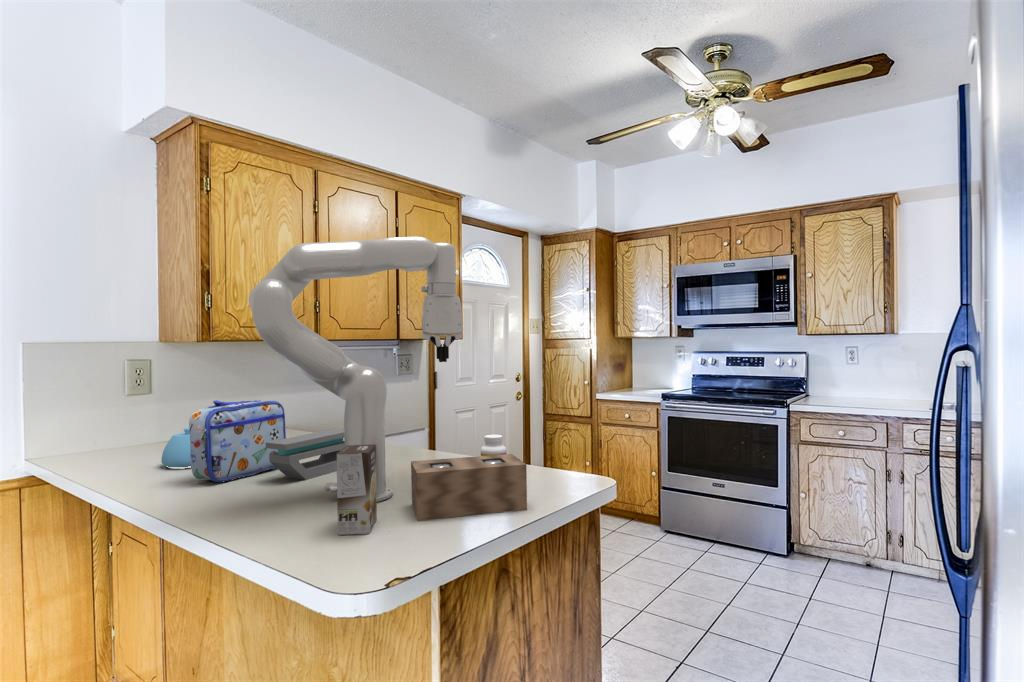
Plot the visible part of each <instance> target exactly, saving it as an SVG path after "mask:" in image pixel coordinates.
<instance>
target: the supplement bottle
mask: <svg viewBox="0 0 1024 682" xmlns="http://www.w3.org/2000/svg"><path fill="white" fill-rule="evenodd" d="M483 440H484V443H485V444H484V445H482V447H481V448H480V456H490V455H503V454H507V447H506V446H505V445H504V444H503V443H502V442H503V435H502V434H487V435H484V439H483Z"/></svg>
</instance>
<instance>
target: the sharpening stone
mask: <svg viewBox="0 0 1024 682" xmlns="http://www.w3.org/2000/svg"><path fill="white" fill-rule="evenodd" d="M266 448H269V449H278V452H276V453H271V454H269V460H270V463H271V464H273V465H274V466H275V468H276V469H277V470H279V472H281V473H282V474H283V475H284V477H286V478H290V477H291V478H292V479H298V480H304V481H305V480H306V481H308V480H311V479H314V478H319V477H321V476H325V475H328V474H332V473H335V472H336V473H337V453H338V452H339V451H340V450H342V449H343V448H344V428H343V429H342V428H332V429H331V428H330V429H327V430H322V431H316V432H311V433H306V434H302V435H301V434H300V435H296V436H290V437H286V439H280V440H275V441H270V442H266ZM318 456H319V457H318ZM314 457H318V458H317V459H313V460H309V461H306V462H301V463H300V461H301V460H306V459H310V458H314Z"/></svg>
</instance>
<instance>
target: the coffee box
mask: <svg viewBox="0 0 1024 682" xmlns="http://www.w3.org/2000/svg"><path fill="white" fill-rule="evenodd" d="M336 483H337V492H336V493H337V494H336V495H337V496H336V497H337V500H336V501H337V502H336V503H337V535H339V536H341V535H343V536H344V535H346V536H347V535H368V534H369V533H370V532H371V531H372V528H373V527H374V525H375V523H376V521H377V519H378V518H377V517H378V513H377V512H378V506H377V503H378V502H377V496H376V445H375V444H374V445H348V446H346V447H344V448H343V449H342V450H340V451H339V452H338V453H337V471H336Z"/></svg>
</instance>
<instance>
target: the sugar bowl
mask: <svg viewBox="0 0 1024 682" xmlns="http://www.w3.org/2000/svg"><path fill="white" fill-rule="evenodd" d="M161 464H162V465H163V466H164V467H165V466H168V467H188V466H191V455H190V432H189V427H186V428H184V429H183V432H180V433H176V434H173V435H172V436H171V437H170V439H169V440H168V442H167V444H166V445H165V447H164V449H163V452H162V454H161Z"/></svg>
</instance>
